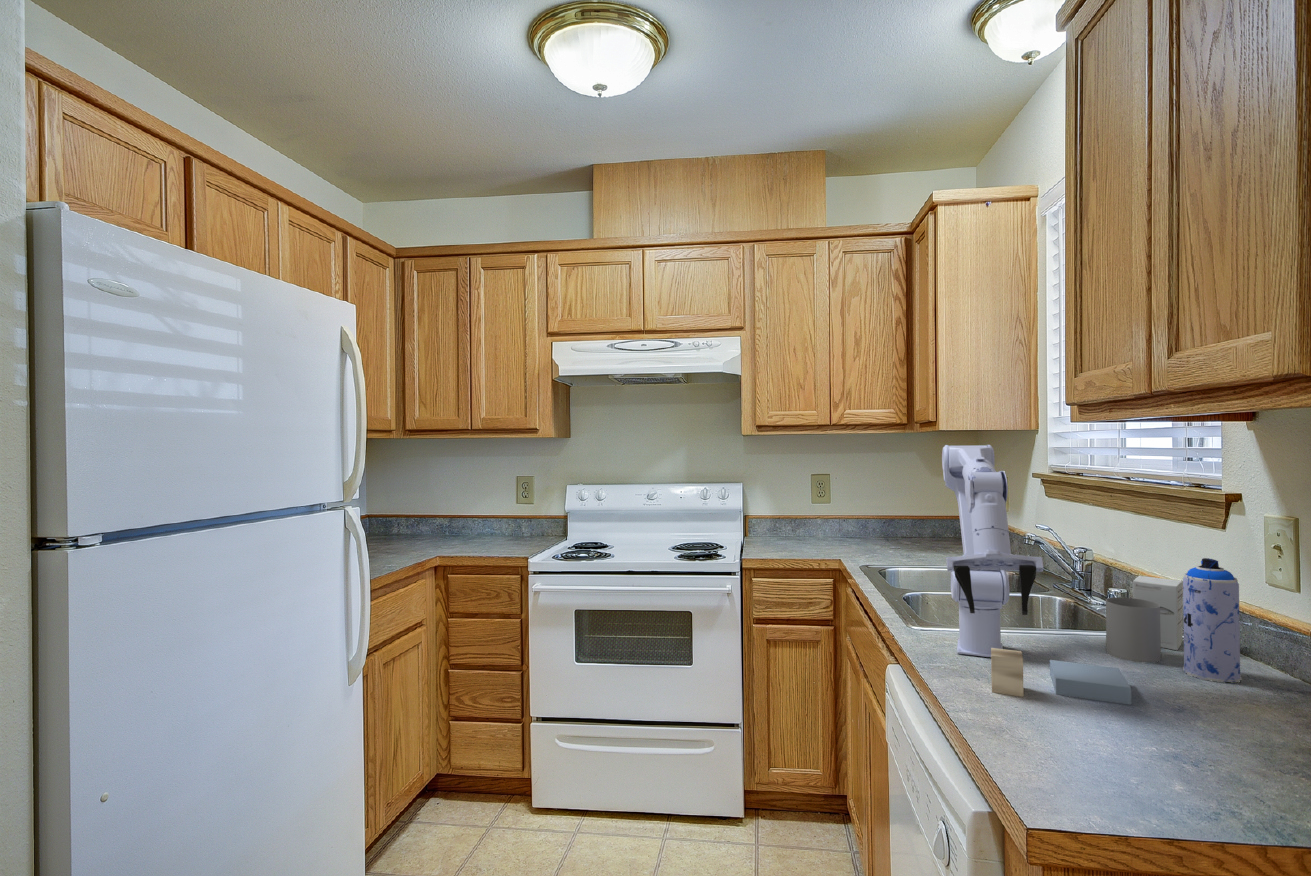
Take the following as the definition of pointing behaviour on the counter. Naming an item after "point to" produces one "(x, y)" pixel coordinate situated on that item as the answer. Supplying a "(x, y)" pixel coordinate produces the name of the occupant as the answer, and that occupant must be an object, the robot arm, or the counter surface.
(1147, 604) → the cup
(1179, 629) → the supplement box
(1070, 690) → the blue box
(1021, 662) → the birch block
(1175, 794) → the counter surface
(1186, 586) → the aerosol can
